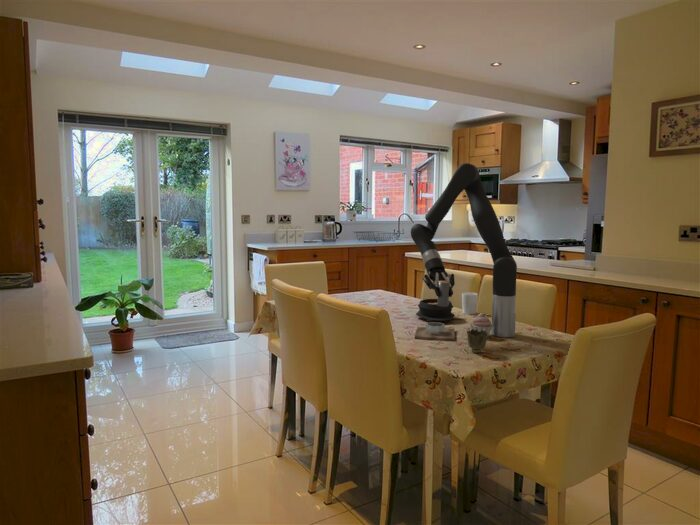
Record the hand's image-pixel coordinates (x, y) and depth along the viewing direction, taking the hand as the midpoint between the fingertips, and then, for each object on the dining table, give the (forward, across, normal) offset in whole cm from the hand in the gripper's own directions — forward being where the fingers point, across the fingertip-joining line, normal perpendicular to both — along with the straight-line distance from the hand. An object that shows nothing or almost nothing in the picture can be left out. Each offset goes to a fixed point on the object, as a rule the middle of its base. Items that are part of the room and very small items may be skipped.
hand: (445, 295), depth 194 cm
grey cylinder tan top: (+2, 0, +4) cm, 5 cm away
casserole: (-12, +15, +39) cm, 43 cm away
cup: (+26, +4, 0) cm, 26 cm away
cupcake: (+12, +18, +14) cm, 26 cm away
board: (+7, 0, +19) cm, 20 cm away
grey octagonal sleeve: (+6, 0, +18) cm, 19 cm away
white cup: (-16, +36, +42) cm, 58 cm away
